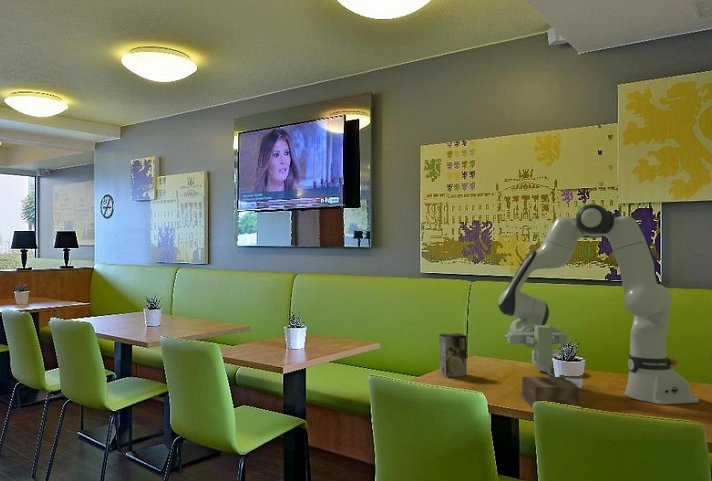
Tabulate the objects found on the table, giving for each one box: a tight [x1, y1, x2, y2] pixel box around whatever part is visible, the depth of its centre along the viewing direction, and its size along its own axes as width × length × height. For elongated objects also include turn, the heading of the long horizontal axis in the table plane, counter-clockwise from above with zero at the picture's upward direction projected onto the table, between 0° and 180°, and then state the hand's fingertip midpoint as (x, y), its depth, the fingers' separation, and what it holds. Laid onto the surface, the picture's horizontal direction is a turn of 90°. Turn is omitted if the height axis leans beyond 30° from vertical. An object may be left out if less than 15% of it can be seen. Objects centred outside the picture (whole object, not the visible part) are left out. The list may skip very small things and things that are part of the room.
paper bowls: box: [531, 349, 560, 374], centre depth 233 cm, size 15×15×8 cm
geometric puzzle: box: [545, 363, 555, 377], centre depth 216 cm, size 7×7×8 cm
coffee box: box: [438, 332, 468, 378], centre depth 224 cm, size 9×6×16 cm
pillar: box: [533, 324, 553, 363], centre depth 191 cm, size 4×4×12 cm
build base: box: [518, 376, 583, 407], centre depth 188 cm, size 16×16×6 cm
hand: (543, 341), depth 190 cm, fingers closed on pillar, 4 cm apart
